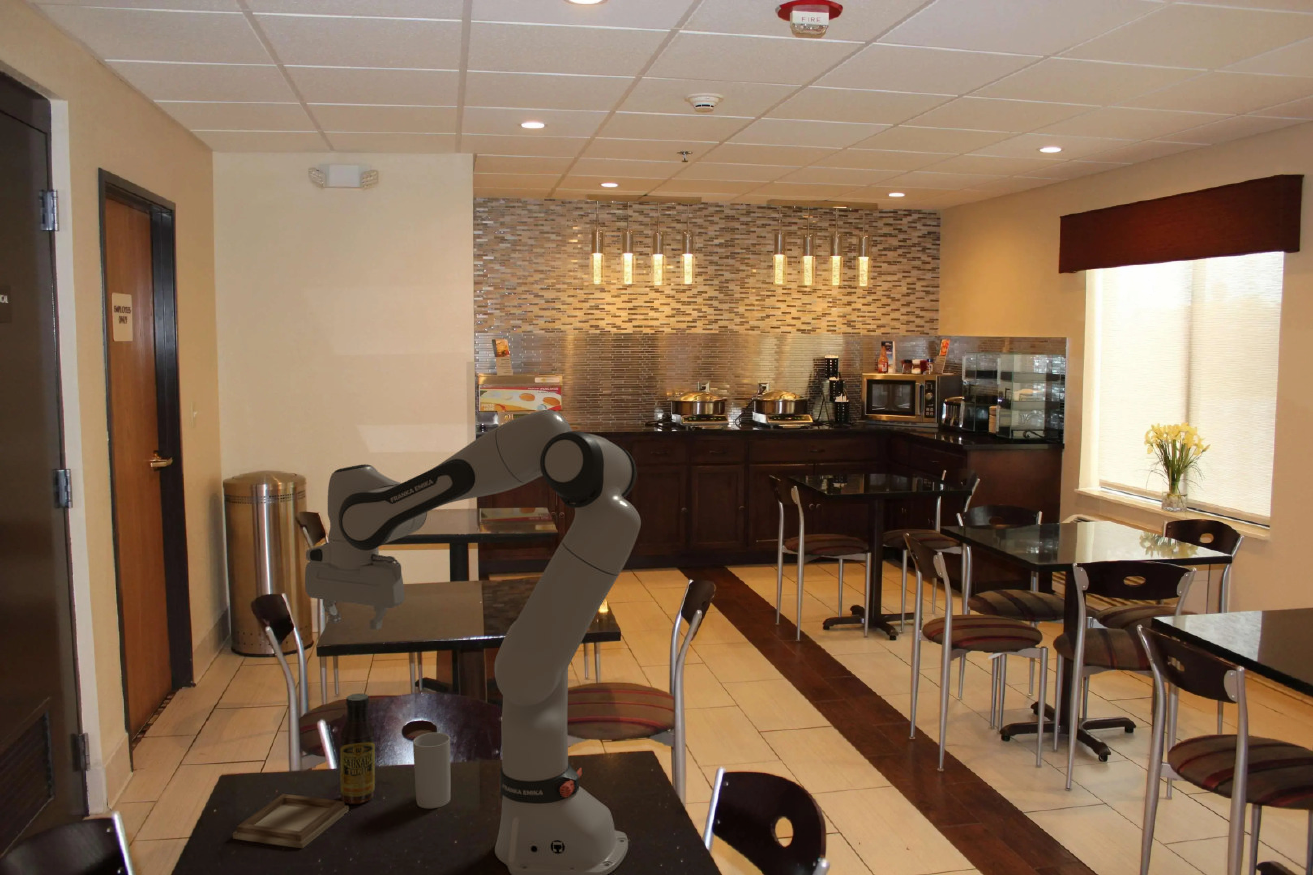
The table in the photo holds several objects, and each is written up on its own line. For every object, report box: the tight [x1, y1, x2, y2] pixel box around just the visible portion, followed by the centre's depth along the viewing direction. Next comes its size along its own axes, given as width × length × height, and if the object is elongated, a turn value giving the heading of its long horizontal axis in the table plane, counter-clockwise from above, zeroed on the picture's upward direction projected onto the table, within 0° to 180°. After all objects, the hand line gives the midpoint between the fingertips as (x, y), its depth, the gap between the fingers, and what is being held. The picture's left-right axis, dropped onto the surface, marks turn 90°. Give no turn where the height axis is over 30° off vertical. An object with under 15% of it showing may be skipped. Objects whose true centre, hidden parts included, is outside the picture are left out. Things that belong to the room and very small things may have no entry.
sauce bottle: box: [339, 693, 376, 805], centre depth 187 cm, size 7×6×20 cm
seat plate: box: [232, 793, 350, 849], centre depth 178 cm, size 14×14×2 cm
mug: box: [412, 732, 452, 810], centre depth 188 cm, size 10×7×12 cm, turn 178°
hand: (355, 625), depth 184 cm, fingers open, 8 cm apart
